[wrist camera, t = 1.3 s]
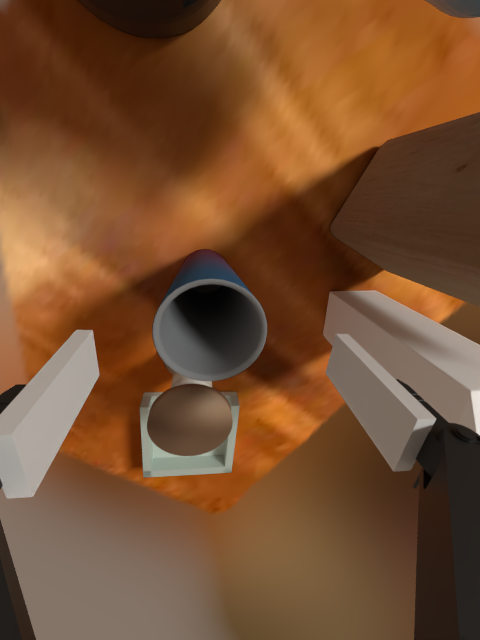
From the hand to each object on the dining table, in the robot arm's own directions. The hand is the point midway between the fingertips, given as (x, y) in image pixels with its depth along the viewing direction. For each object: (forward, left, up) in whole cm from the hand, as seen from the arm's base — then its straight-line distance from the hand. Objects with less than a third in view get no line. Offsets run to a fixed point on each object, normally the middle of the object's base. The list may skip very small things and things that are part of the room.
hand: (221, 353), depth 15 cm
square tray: (+22, -2, -17) cm, 27 cm away
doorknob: (+10, -2, -17) cm, 19 cm away
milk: (+4, +17, -17) cm, 25 cm away
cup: (0, -1, -17) cm, 17 cm away
